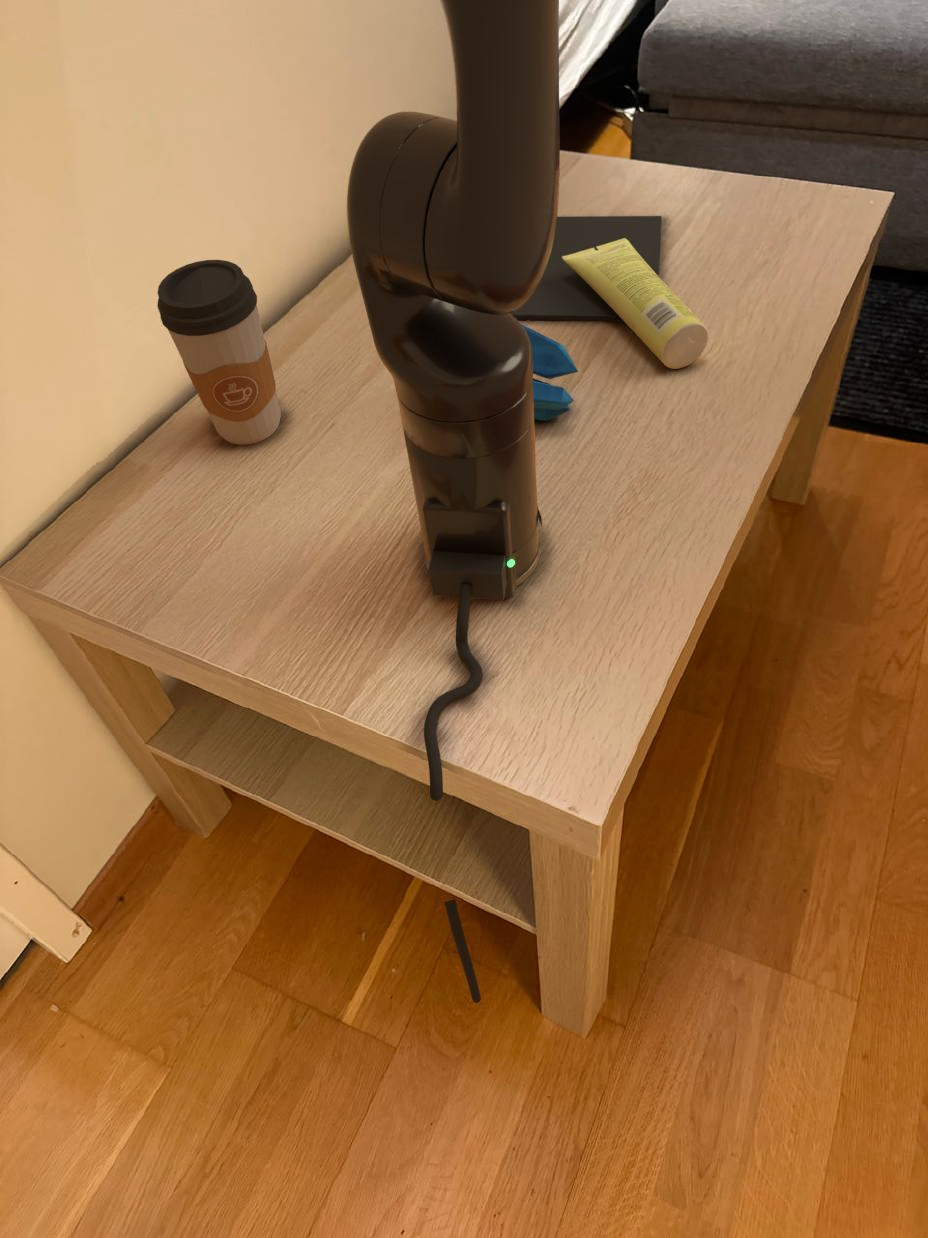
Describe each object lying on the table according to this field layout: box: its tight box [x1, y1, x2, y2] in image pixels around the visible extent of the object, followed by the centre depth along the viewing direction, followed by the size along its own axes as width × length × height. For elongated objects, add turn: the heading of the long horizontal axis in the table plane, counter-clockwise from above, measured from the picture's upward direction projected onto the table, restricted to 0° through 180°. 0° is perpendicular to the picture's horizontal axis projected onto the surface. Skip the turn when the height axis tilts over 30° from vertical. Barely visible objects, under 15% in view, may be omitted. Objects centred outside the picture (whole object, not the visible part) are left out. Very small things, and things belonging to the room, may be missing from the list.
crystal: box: [521, 323, 579, 422], centre depth 81 cm, size 7×9×12 cm
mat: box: [511, 215, 662, 322], centre depth 98 cm, size 20×22×1 cm
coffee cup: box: [156, 259, 282, 445], centre depth 81 cm, size 8×8×15 cm
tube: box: [562, 238, 709, 370], centre depth 90 cm, size 6×5×20 cm
